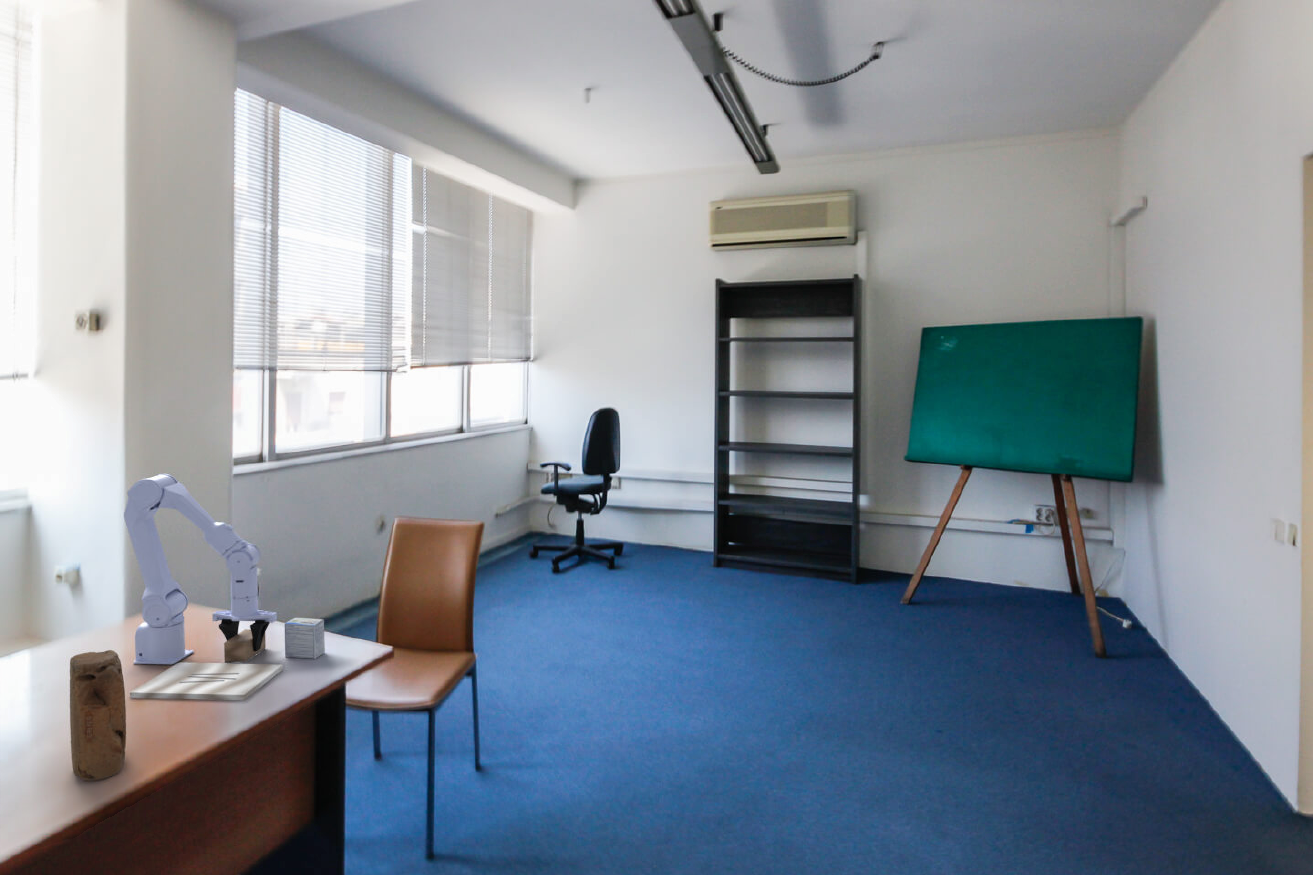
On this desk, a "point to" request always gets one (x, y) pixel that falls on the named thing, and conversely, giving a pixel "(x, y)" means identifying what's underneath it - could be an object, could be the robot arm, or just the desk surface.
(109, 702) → the block
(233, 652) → the block
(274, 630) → the desk surface
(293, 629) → the medicine box
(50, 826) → the desk surface
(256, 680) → the board
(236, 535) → the robot arm
